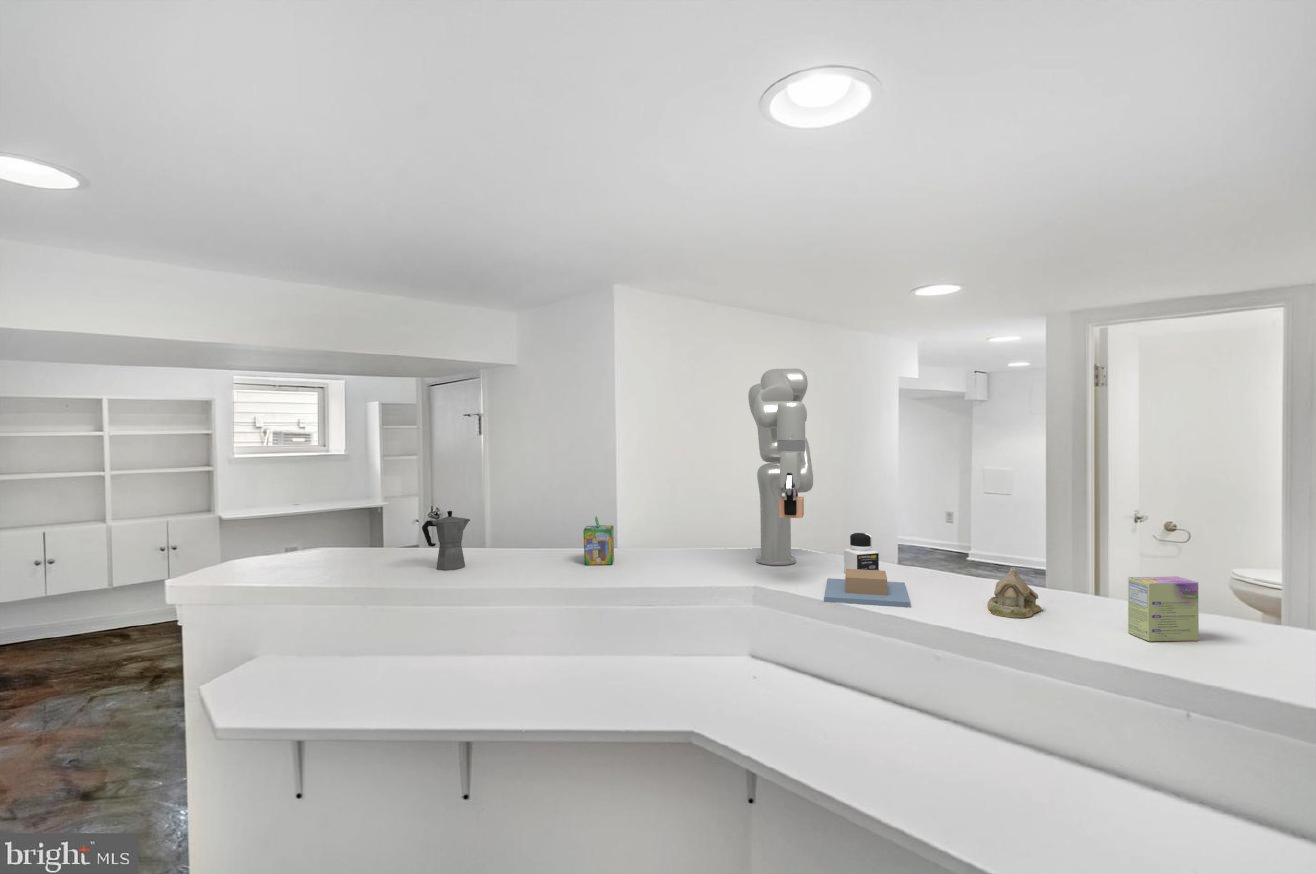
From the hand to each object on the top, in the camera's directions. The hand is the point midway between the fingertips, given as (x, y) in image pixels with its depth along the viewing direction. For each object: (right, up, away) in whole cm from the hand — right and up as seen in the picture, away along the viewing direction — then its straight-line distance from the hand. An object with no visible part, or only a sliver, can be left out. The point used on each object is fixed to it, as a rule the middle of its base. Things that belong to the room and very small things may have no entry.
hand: (791, 512), depth 177 cm
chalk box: (-55, -20, +34) cm, 68 cm away
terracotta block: (0, -1, 0) cm, 1 cm away
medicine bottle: (+23, -20, +12) cm, 32 cm away
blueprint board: (+17, -20, -9) cm, 28 cm away
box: (+66, -20, -45) cm, 82 cm away
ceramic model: (+47, -20, -25) cm, 57 cm away
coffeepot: (-103, -21, +28) cm, 109 cm away
